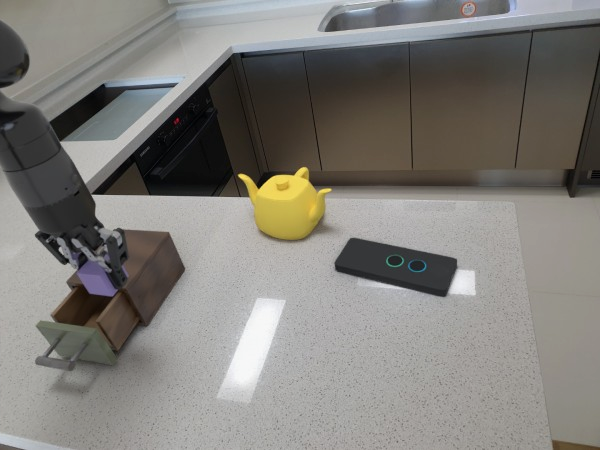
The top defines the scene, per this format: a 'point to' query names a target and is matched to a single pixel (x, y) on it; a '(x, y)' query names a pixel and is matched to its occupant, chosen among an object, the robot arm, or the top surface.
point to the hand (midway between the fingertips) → (108, 283)
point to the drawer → (87, 328)
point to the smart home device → (397, 266)
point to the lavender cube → (97, 278)
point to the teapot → (287, 205)
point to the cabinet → (147, 271)
